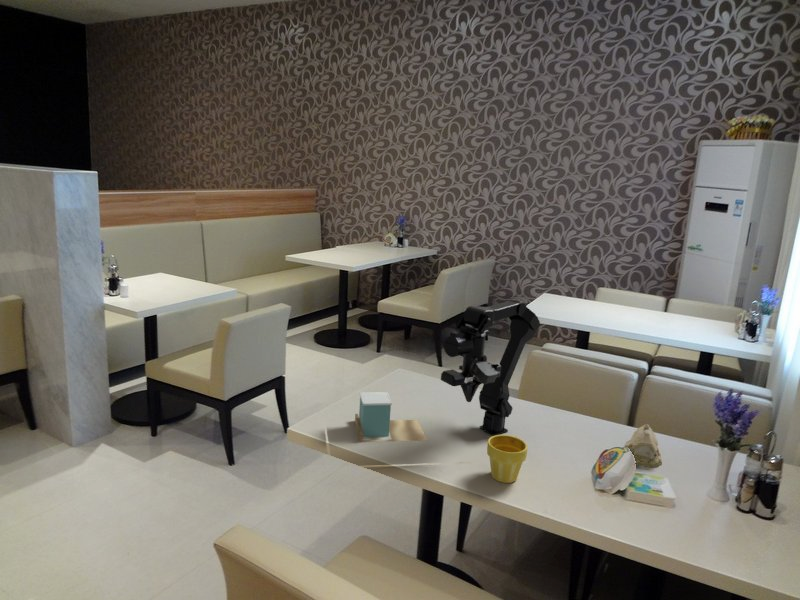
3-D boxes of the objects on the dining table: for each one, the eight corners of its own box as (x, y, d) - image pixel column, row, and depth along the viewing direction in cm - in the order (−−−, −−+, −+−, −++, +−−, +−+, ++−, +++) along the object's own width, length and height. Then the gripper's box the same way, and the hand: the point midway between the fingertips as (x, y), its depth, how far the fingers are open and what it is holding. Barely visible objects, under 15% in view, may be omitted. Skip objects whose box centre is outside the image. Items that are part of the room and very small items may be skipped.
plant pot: (479, 480, 150) (483, 446, 148) (489, 463, 160) (492, 431, 158) (519, 491, 147) (523, 456, 144) (526, 472, 156) (530, 439, 154)
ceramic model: (661, 472, 162) (667, 439, 160) (619, 461, 166) (624, 429, 164) (662, 451, 174) (667, 421, 172) (623, 442, 179) (628, 412, 177)
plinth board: (417, 421, 183) (418, 412, 182) (427, 442, 170) (428, 432, 169) (354, 422, 179) (355, 413, 179) (360, 443, 166) (360, 434, 165)
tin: (384, 424, 178) (387, 392, 176) (389, 436, 170) (391, 403, 168) (357, 424, 176) (359, 392, 174) (361, 437, 168) (363, 403, 166)
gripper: (468, 363, 153) (463, 418, 157) (517, 354, 164) (511, 405, 167) (441, 351, 162) (437, 403, 165) (489, 343, 173) (484, 392, 176)
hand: (468, 401), depth 168 cm, fingers closed
